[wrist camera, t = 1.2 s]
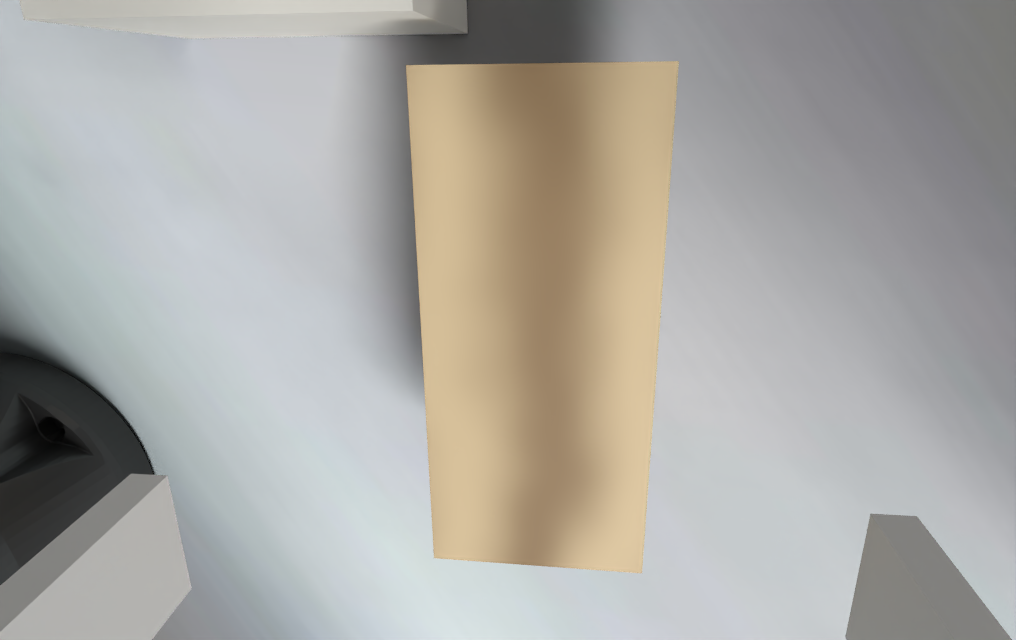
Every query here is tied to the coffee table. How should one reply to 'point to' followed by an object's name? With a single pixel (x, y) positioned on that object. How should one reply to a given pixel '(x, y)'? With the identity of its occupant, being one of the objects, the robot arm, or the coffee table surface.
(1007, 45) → the coffee table surface
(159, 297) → the coffee table surface
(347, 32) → the shelf bay
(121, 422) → the robot arm
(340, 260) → the coffee table surface
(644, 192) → the board
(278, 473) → the coffee table surface
